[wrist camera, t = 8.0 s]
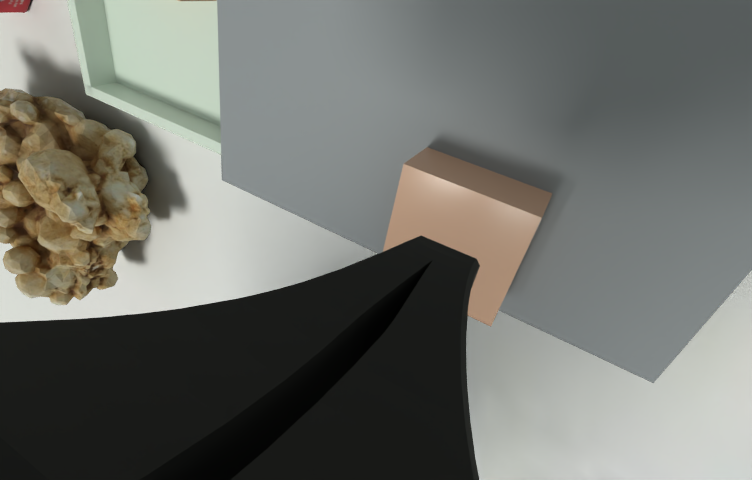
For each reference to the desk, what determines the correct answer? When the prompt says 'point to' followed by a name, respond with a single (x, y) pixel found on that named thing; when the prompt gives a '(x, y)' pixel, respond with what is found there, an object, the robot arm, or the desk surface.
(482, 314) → the tile
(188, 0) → the tile
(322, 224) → the board
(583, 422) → the desk surface
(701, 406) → the desk surface
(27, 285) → the mineral formation
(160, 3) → the tray
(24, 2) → the ink box
